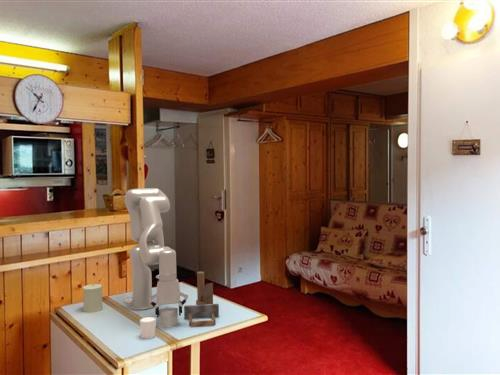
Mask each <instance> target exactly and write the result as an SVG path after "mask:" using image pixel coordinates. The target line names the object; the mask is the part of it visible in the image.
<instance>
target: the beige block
mask: <svg viewBox="0 0 500 375" xmlns="http://www.w3.org/2000/svg"><path fill="white" fill-rule="evenodd" d="M178 324H179V307H175V306H174V307H173V306H168V305H167V306H164V307H162V308H161V309H160V308H159V317H158V326H159V327H162V326H163V328H166V327H167V329H171V328H173V327H174V326H176V325H178Z"/></svg>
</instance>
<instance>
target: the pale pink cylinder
mask: <svg viewBox="0 0 500 375" xmlns="http://www.w3.org/2000/svg"><path fill="white" fill-rule="evenodd" d="M156 325H157V317H154V316H145V317H142V318H140V319H139V326H140V327H139V328H140V334H141V335H140V336H141V338H142V339H146V340H147V339H152V338H155V336H156V329H157V326H156Z"/></svg>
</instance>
